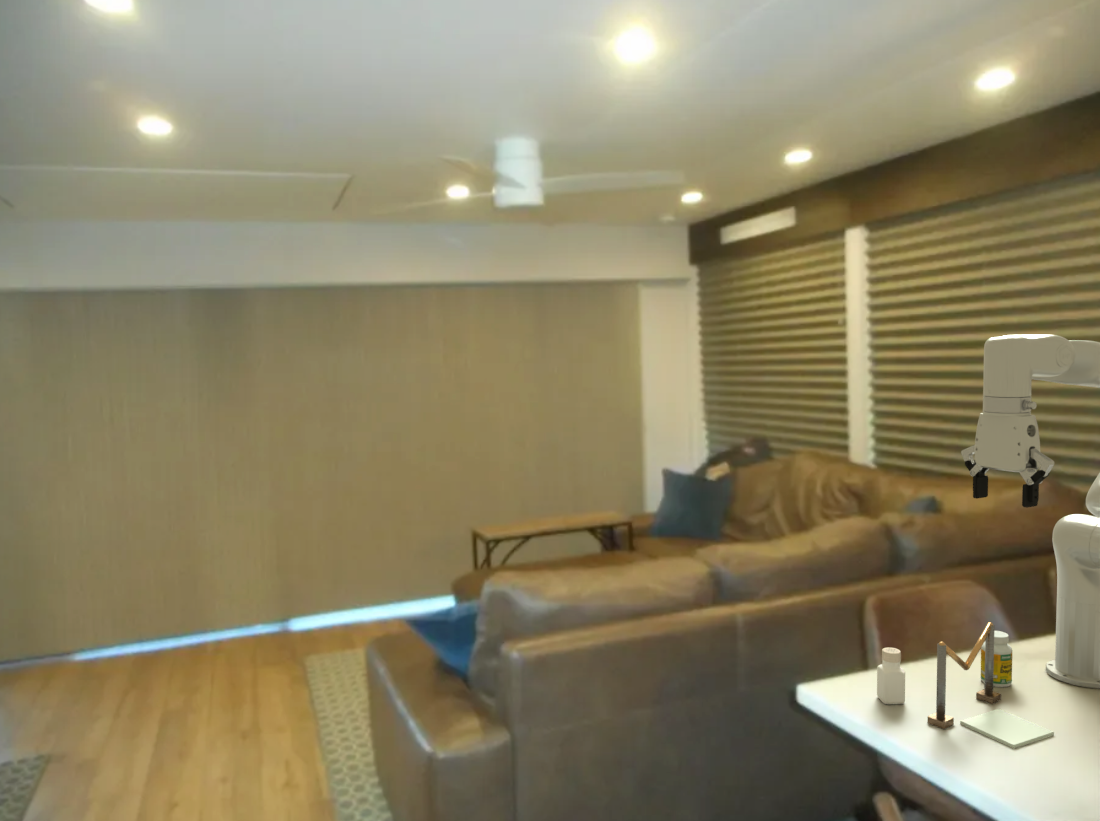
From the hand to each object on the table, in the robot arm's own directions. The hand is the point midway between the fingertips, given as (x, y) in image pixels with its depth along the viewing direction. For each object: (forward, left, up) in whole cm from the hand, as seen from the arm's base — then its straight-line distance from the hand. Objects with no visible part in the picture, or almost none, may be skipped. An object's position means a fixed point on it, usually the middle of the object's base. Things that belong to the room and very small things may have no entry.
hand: (1004, 501), depth 152 cm
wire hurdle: (+9, 0, -37) cm, 38 cm away
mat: (+9, +8, -37) cm, 39 cm away
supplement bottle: (-7, -6, -37) cm, 38 cm away
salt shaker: (+17, -9, -37) cm, 42 cm away
